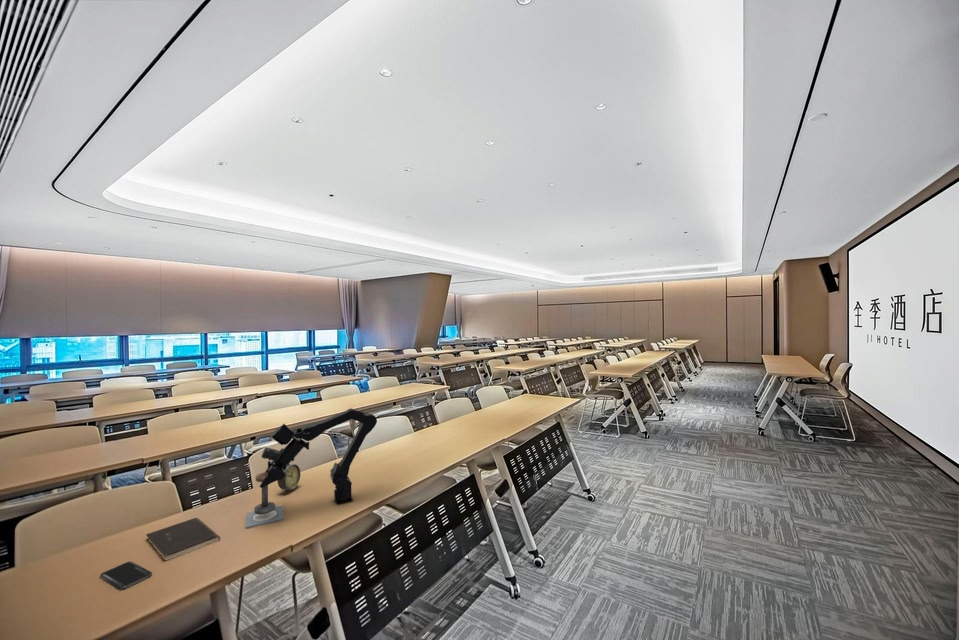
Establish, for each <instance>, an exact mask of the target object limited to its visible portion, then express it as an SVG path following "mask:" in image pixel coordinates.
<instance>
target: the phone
mask: <svg viewBox="0 0 959 640" xmlns="http://www.w3.org/2000/svg"><path fill="white" fill-rule="evenodd" d="M152 576H153V572H152V571H150V570H148V569H146V568H145V567H142V566H141V565H139V564H137V563H135V562H134V561H126V562H124V563H121V564H120V565H117V566H115V567H112V568H111V569H108V570H106V571H103V572H102V573H100V575H99V577H101V578H100V579H102V580H103V579H104V580H103V581H105V582H106V583H108V584H110V585H111V586H113V587H114V588H116V589H118V590H119V591H124V590H126V589H129V588H131V587H133V586H135V585H137V584H139V583H141V582H143V581H146V580H147V579H150V578H151V577H152Z"/></svg>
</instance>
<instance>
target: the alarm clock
mask: <svg viewBox="0 0 959 640" xmlns="http://www.w3.org/2000/svg"><path fill="white" fill-rule="evenodd" d="M282 469H283V468H282ZM300 479H301V469H300V467H299V465H297V464H296V463H295V464H292V463H289V464H288V466H287V468H286V470H285V477H284V478H283V479H282V480H277V481H276V482H277V485H278V487H279V488H280V489H281V490H283V491H284V493H283V495H284V496H285V495H286V493H287V491H288V490H289V491H293V490H294V489H295V488H297V487H298V485H299V482H300Z"/></svg>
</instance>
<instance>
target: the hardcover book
mask: <svg viewBox="0 0 959 640" xmlns="http://www.w3.org/2000/svg"><path fill="white" fill-rule="evenodd" d="M145 535H146V537H147V540H148V539H149V540H148V541H149V542H150V543H151V545H152V544H153V545H152V546H153V547H154V548H155V550H156V549H157V550H156V551H157V552H158V553H159V554H160V556H161V555H162V556H161V557H162V559H164V560H167V561H169V560H168V559H170V560H172V559H175V558H177V557H180V556H182V555H185V554H187V553H190V552H193V551H195V550H197V549H200V548H202V547H206V546H207V544H208V545H211V544H212V542H213V543H215V541H216V542H218V541H221V536H220V535H219V534H217V533H216V532H215V531H214V530H212V528H210V527H209V526H208V525H207V524H205V523H204V522H203V521H202V520H201V519H200V518H198V517H193V518H191V519H188V520H185V521H182V522H179V523H175V524H173V525H169V526H167V527H164V528H161V529H158V530H155V531H153V532H149V533H146V534H145ZM217 540H218V541H217ZM210 543H211V544H210ZM179 555H180V556H179ZM176 556H177V557H176ZM174 557H175V558H174ZM171 558H172V559H171Z"/></svg>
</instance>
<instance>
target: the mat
mask: <svg viewBox="0 0 959 640" xmlns="http://www.w3.org/2000/svg"><path fill="white" fill-rule="evenodd" d="M245 516H246V520H245V529H251V528H255V527H259V526H264V525H267V524H271V523H272V524H273V523H276V522H280V521H284V520H285V514H284V508H283V505H278V506H275V509H274V510H273V511H272V512H269V513H266V514H255V513H254V511H250V512H246V515H245Z"/></svg>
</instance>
